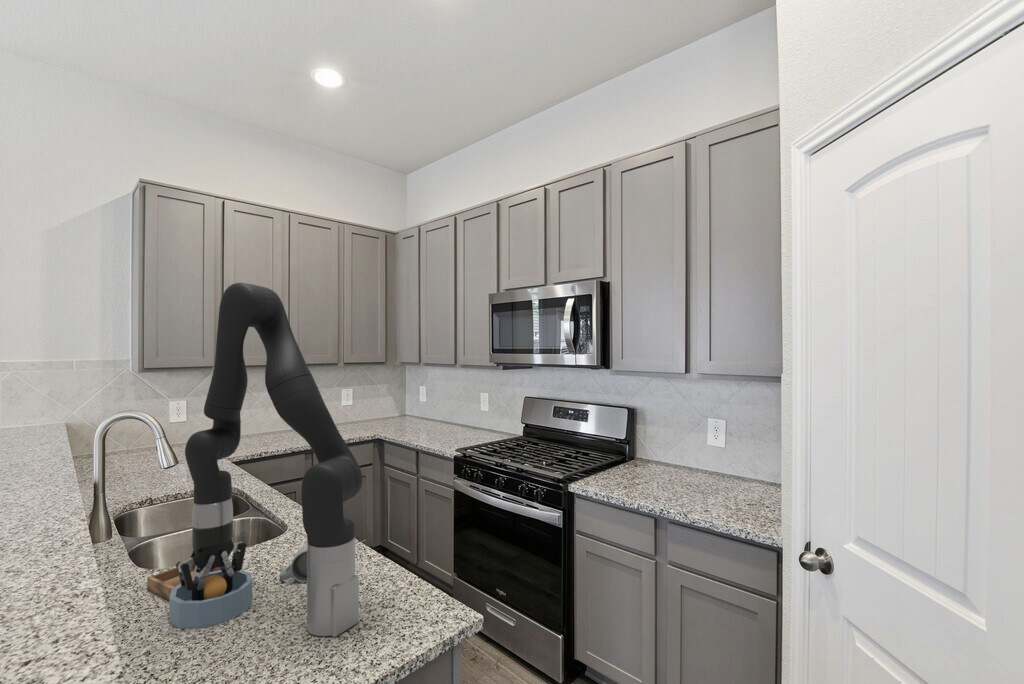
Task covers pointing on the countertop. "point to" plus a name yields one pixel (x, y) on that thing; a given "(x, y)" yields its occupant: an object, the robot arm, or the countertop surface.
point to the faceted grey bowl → (210, 604)
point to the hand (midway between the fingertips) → (213, 599)
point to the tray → (167, 582)
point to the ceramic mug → (297, 567)
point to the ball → (214, 587)
